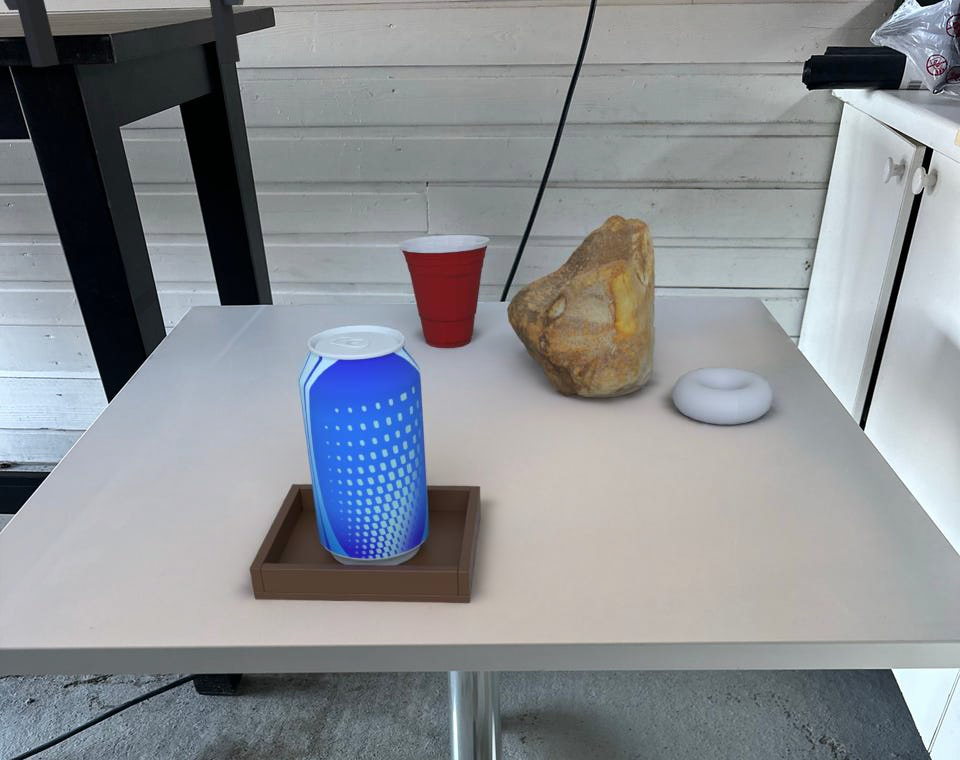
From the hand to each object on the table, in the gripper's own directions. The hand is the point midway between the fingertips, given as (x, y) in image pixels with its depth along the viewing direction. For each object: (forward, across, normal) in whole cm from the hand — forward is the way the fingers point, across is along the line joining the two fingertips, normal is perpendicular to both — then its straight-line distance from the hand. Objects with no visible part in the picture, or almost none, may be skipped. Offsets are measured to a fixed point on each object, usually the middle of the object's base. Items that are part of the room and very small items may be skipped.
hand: (137, 65), depth 67 cm
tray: (+32, -17, +15) cm, 39 cm away
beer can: (+31, -17, +15) cm, 39 cm away
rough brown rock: (+32, -34, -27) cm, 54 cm away
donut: (+32, -48, -15) cm, 60 cm away
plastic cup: (+32, -18, -38) cm, 53 cm away
